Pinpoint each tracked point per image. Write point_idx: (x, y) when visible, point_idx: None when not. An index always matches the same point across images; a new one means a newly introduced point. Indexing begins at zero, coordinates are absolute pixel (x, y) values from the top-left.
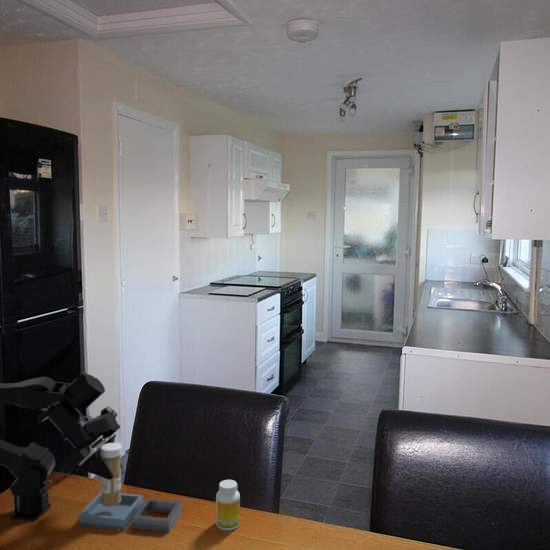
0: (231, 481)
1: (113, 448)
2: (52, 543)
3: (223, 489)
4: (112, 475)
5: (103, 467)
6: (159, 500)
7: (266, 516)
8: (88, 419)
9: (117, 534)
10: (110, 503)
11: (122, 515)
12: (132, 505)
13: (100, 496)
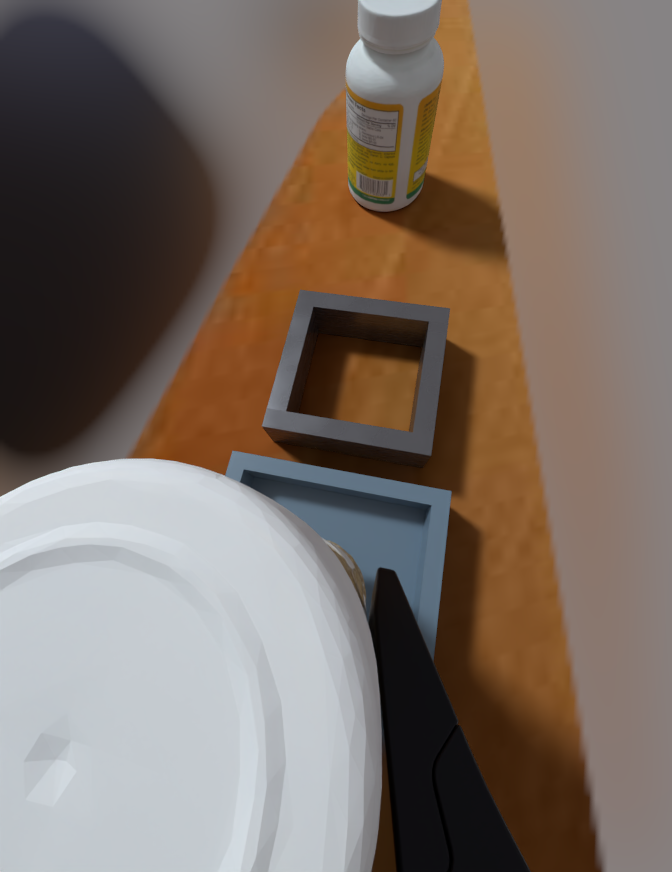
0: None
1: (240, 625)
2: (582, 850)
3: (438, 10)
4: (388, 577)
5: (453, 716)
6: (286, 371)
7: (342, 109)
8: None
9: (469, 521)
10: (362, 586)
11: (351, 526)
12: (323, 480)
13: None
